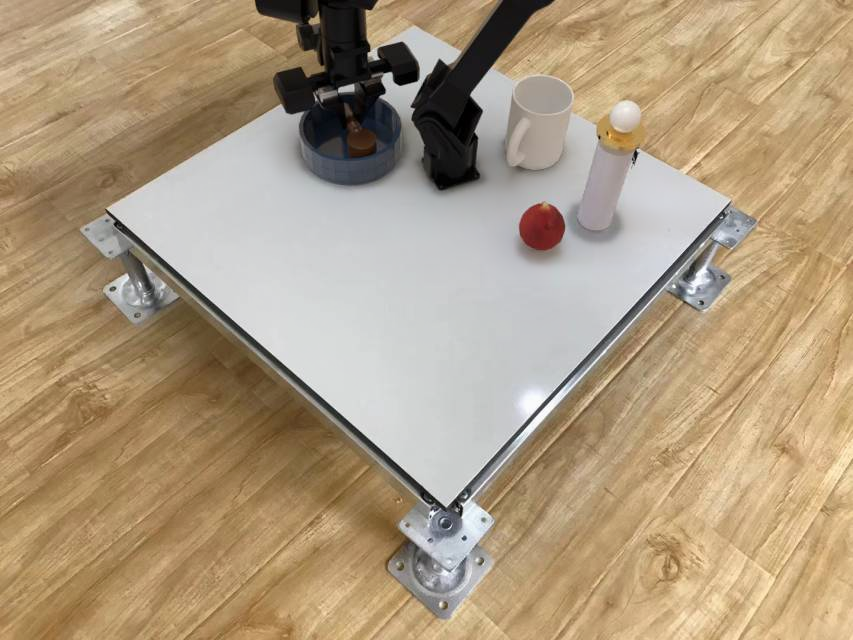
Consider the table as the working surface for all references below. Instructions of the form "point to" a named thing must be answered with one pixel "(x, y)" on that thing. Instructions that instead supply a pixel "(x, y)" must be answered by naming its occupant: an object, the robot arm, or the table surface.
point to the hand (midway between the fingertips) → (350, 126)
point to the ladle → (358, 137)
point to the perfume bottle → (611, 163)
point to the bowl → (329, 143)
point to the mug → (538, 121)
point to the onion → (542, 226)
